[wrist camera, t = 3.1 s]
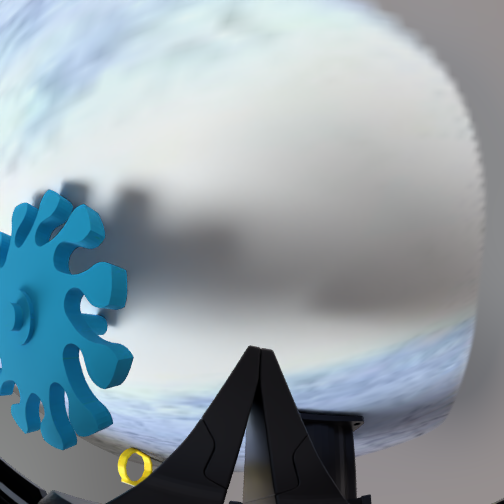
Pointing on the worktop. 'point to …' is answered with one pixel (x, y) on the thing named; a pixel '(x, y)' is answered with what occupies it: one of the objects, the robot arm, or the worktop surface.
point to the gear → (57, 321)
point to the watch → (123, 462)
